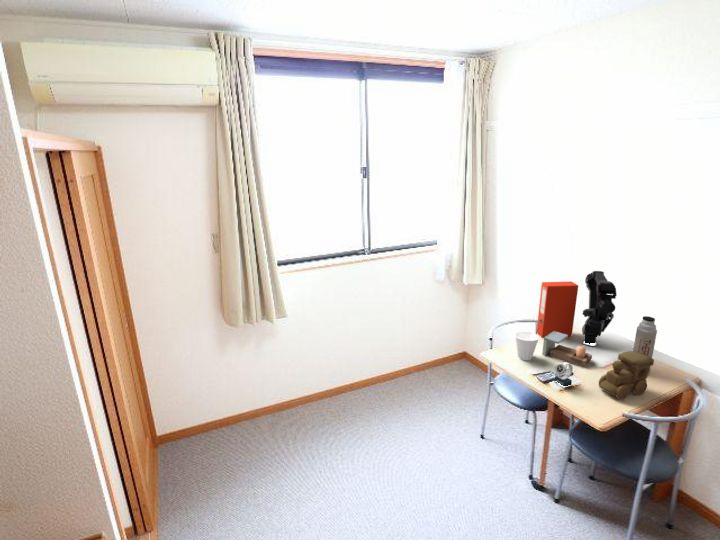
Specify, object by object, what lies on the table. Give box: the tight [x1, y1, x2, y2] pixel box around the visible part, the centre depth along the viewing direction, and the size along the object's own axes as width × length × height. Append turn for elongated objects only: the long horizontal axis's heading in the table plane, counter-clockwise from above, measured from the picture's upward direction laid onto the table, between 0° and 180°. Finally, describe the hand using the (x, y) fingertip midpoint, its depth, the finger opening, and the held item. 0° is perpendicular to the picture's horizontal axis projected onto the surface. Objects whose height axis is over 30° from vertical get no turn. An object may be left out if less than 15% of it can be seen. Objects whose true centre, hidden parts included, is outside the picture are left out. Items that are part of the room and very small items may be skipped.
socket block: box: [549, 344, 593, 369], centre depth 216 cm, size 10×17×4 cm, turn 42°
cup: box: [514, 330, 540, 361], centre depth 218 cm, size 12×12×12 cm
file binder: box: [536, 280, 579, 339], centre depth 241 cm, size 8×17×32 cm, turn 90°
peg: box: [576, 345, 587, 359], centre depth 213 cm, size 4×4×8 cm
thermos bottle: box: [632, 315, 658, 375], centre depth 200 cm, size 8×8×28 cm
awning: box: [541, 331, 569, 357], centre depth 222 cm, size 12×8×10 cm, turn 132°
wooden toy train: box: [598, 350, 655, 401], centre depth 185 cm, size 20×11×17 cm, turn 109°
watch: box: [554, 361, 574, 386], centre depth 192 cm, size 6×8×11 cm
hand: (598, 334), depth 214 cm, fingers open, 9 cm apart
